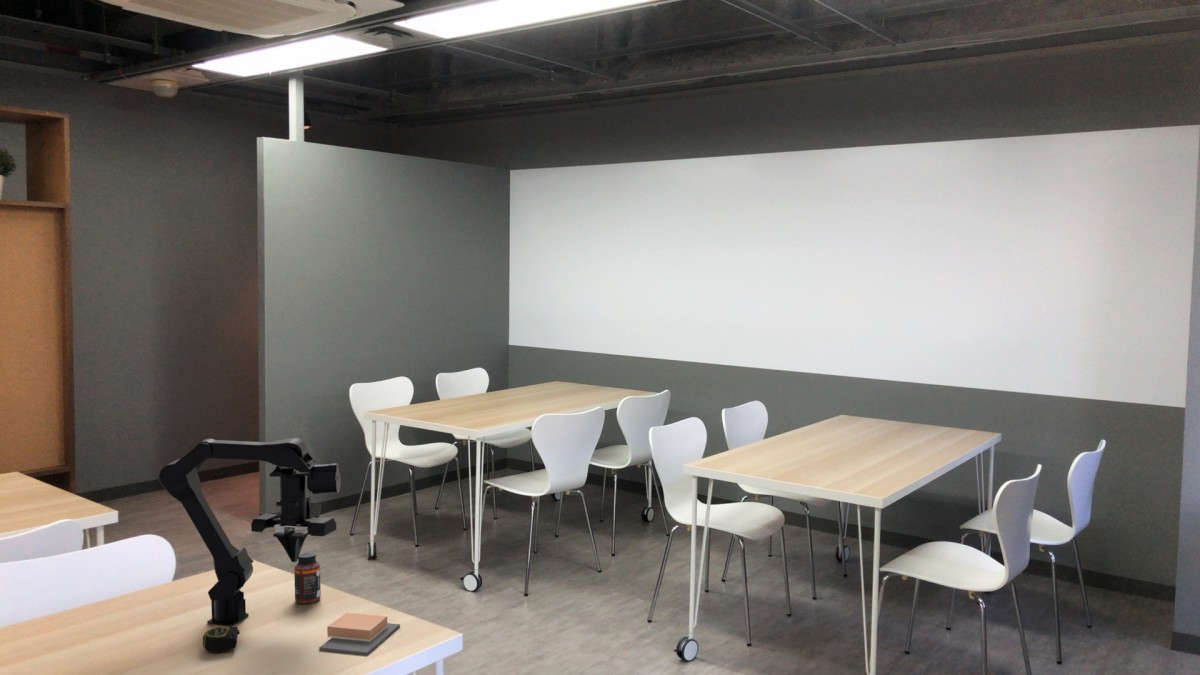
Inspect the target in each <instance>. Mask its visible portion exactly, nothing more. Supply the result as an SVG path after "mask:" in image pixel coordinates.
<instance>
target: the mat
mask: <svg viewBox="0 0 1200 675" xmlns="http://www.w3.org/2000/svg"><path fill="white" fill-rule="evenodd" d="M400 627H401V624H400V623H389V622H387V628H386V629H384V630H383V631H382V632H381V633H380V634H379V635H377V636H376V637H375V638H374V639H373V640H371V641H370V642H369V641H359V640H349V639H338V638H329V639H328V640H327V641H325V643H323V644H322V645H320V646H319V647H318V650H319V651H324V652H333V653H344V654H352V655H361V656H368V655H370V653H372V652H373V651H374V650H375V649H376V648H378V646H380V644H382V643H383V642H384V641H386V640H387V638H389V637H390V636H391V635H392V634H394V633H395V632H396V631H397V630H398V629H399V628H400Z"/></svg>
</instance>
